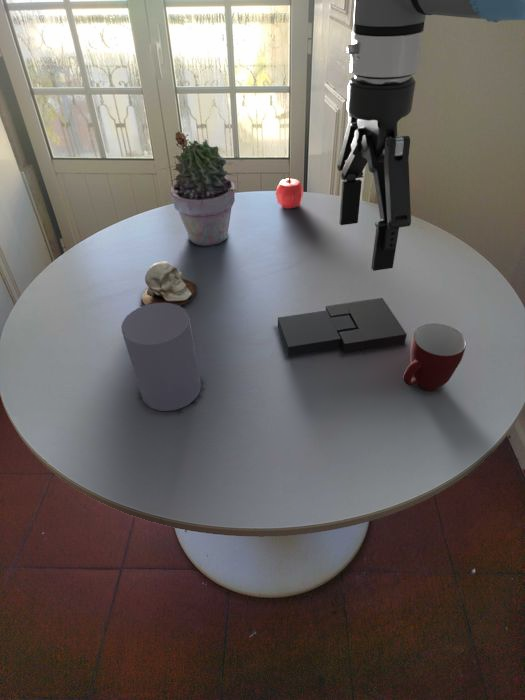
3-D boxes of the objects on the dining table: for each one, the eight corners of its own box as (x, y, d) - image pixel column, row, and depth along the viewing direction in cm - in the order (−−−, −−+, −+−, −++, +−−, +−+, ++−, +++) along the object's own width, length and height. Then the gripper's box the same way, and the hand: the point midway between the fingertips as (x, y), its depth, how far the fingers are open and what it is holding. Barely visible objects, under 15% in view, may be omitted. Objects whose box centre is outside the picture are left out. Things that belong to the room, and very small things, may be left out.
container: (213, 389, 82) (202, 322, 71) (163, 422, 76) (145, 354, 66) (178, 361, 87) (164, 294, 77) (130, 389, 82) (108, 323, 72)
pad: (359, 345, 89) (360, 335, 87) (288, 357, 87) (288, 347, 85) (343, 317, 95) (344, 307, 94) (277, 327, 94) (277, 317, 92)
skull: (211, 284, 104) (185, 269, 95) (190, 326, 104) (162, 315, 95) (172, 266, 109) (144, 250, 100) (153, 306, 109) (123, 294, 100)
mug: (425, 416, 76) (439, 372, 69) (384, 389, 80) (393, 346, 73) (460, 383, 81) (476, 339, 74) (420, 360, 85) (431, 316, 78)
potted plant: (234, 259, 114) (226, 154, 97) (162, 249, 118) (142, 147, 102) (258, 225, 126) (253, 127, 110) (191, 217, 131) (178, 122, 114)
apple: (306, 209, 132) (306, 182, 127) (278, 212, 131) (277, 184, 126) (300, 198, 138) (301, 171, 133) (273, 200, 137) (273, 173, 132)
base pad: (404, 344, 89) (406, 334, 87) (343, 354, 87) (344, 344, 85) (380, 307, 97) (382, 297, 96) (325, 315, 96) (325, 305, 94)
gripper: (319, 59, 62) (315, 210, 76) (394, 107, 44) (370, 295, 58) (373, 54, 63) (359, 205, 77) (469, 99, 44) (427, 287, 58)
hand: (363, 244), depth 67 cm, fingers open, 13 cm apart
